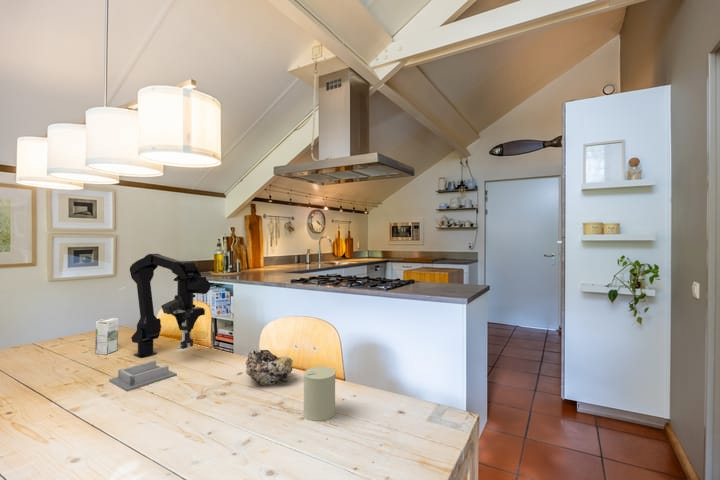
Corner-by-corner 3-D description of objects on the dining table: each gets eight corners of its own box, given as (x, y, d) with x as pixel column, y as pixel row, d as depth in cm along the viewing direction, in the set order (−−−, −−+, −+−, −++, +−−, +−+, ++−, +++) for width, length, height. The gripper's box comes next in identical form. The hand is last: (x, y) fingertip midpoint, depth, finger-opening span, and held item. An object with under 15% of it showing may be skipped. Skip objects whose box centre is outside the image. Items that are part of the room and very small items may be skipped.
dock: (109, 381, 117) (109, 370, 117) (157, 367, 130) (157, 357, 130) (127, 391, 109) (127, 380, 109) (176, 375, 123) (177, 365, 123)
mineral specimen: (257, 370, 128) (257, 344, 128) (300, 375, 123) (300, 348, 123) (231, 387, 113) (231, 357, 113) (278, 394, 108) (279, 363, 108)
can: (299, 408, 99) (300, 367, 99) (329, 402, 103) (330, 363, 103) (307, 424, 91) (308, 379, 91) (340, 417, 94) (340, 374, 94)
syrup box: (106, 349, 150) (107, 317, 150) (118, 350, 150) (118, 317, 150) (94, 354, 145) (95, 320, 145) (107, 354, 144) (107, 320, 144)
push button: (182, 351, 132) (183, 326, 132) (172, 349, 134) (173, 324, 134) (196, 346, 139) (197, 322, 138) (186, 344, 140) (187, 320, 140)
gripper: (152, 292, 135) (152, 332, 135) (177, 297, 124) (177, 339, 124) (180, 289, 144) (180, 326, 144) (205, 293, 134) (205, 333, 134)
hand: (185, 331), depth 136 cm, fingers closed on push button, 5 cm apart
